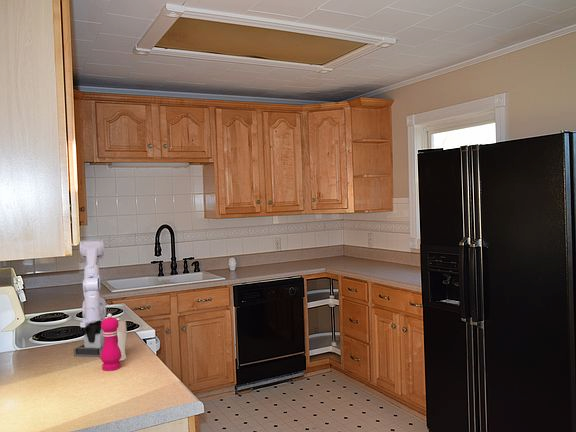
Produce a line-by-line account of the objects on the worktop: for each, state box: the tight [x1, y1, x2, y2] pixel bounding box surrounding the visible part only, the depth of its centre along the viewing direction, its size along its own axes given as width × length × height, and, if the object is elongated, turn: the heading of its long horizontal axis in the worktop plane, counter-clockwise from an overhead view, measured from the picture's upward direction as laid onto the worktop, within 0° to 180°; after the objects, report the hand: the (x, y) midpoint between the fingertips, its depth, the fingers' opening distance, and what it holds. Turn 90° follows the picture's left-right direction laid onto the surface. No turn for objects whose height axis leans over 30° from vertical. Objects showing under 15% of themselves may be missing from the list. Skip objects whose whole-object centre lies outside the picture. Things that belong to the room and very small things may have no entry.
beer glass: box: [116, 318, 128, 362], centre depth 192 cm, size 7×7×15 cm
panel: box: [83, 333, 104, 348], centre depth 201 cm, size 2×7×6 cm, turn 80°
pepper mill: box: [99, 312, 122, 372], centre depth 182 cm, size 7×7×20 cm
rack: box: [73, 343, 103, 358], centre depth 201 cm, size 9×12×3 cm
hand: (93, 341), depth 201 cm, fingers closed on panel, 2 cm apart
